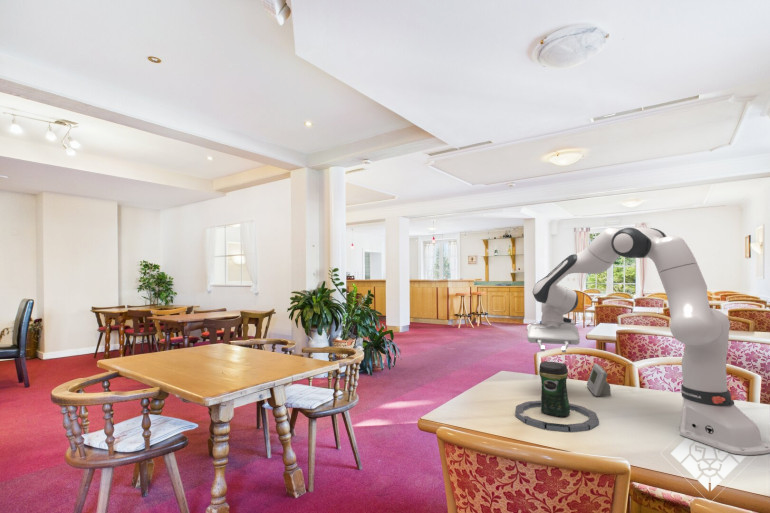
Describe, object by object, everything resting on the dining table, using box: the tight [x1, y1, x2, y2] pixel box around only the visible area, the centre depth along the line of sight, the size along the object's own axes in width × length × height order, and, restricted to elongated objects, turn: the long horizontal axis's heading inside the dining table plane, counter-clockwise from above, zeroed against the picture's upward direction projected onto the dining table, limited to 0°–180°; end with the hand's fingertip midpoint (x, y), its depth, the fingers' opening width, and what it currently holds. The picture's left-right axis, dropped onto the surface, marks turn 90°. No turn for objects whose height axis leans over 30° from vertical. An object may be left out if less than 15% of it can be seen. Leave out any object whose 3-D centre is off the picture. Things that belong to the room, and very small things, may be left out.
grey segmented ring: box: [514, 399, 600, 433], centre depth 143 cm, size 27×27×2 cm
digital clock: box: [586, 363, 612, 397], centre depth 170 cm, size 16×9×11 cm, turn 152°
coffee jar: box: [538, 360, 571, 417], centre depth 147 cm, size 10×8×19 cm
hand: (553, 351), depth 162 cm, fingers open, 7 cm apart
